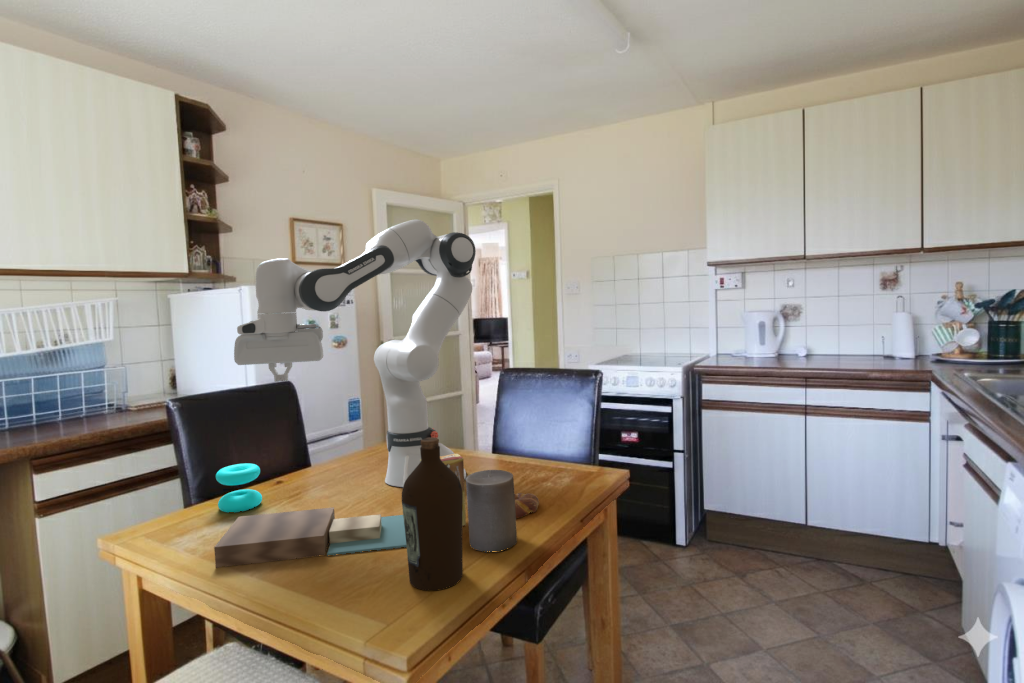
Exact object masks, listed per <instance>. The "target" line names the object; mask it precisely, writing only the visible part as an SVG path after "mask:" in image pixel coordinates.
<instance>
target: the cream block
mask: <svg viewBox="0 0 1024 683" xmlns="http://www.w3.org/2000/svg"><path fill="white" fill-rule="evenodd" d="M381 517H382V514H371V515H361V516H352V517H342V518H335V519H334V520H333V522H332V525H331V528H330V531H329V537H330V542H329V544H330V543H340V542H349V541H359V540H368V539H377V538H380V534H381V526H382V523H381Z"/></svg>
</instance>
